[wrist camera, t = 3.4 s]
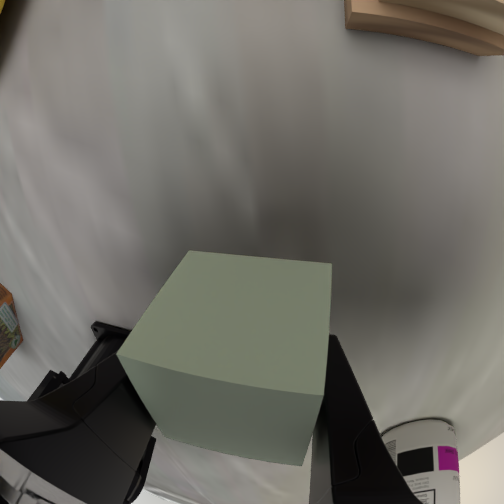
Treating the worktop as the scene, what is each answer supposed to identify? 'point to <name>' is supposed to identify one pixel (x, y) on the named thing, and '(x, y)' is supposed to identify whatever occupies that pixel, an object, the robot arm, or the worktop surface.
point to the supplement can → (427, 459)
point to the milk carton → (8, 326)
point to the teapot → (1, 5)
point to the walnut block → (422, 26)
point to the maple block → (464, 10)
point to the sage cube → (235, 354)
